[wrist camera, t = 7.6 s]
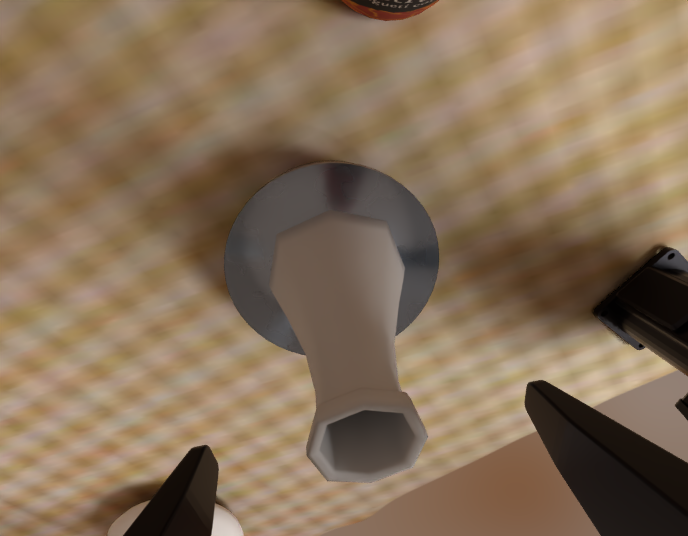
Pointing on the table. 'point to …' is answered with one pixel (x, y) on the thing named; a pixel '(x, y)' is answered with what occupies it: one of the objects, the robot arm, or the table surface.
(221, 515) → the flower in vase
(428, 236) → the biscuit tin
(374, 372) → the flask
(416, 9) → the canned food
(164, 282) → the table surface
